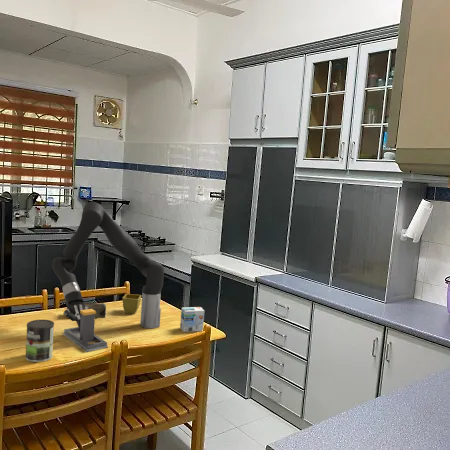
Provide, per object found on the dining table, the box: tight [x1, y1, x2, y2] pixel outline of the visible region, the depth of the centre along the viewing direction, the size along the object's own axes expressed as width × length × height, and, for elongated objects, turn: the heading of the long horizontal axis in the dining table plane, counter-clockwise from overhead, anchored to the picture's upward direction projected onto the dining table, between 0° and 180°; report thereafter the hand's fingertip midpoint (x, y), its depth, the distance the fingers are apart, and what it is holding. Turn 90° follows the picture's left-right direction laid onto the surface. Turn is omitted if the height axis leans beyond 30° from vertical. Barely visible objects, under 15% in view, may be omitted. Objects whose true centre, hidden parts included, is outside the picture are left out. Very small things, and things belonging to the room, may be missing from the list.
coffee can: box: [25, 319, 55, 363], centre depth 185 cm, size 10×10×14 cm
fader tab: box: [80, 309, 96, 341], centre depth 204 cm, size 4×5×13 cm
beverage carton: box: [70, 302, 107, 319], centre depth 240 cm, size 8×19×7 cm, turn 108°
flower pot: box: [122, 293, 142, 315], centre depth 252 cm, size 9×9×9 cm
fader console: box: [62, 326, 109, 353], centre depth 206 cm, size 24×10×2 cm, turn 42°
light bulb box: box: [179, 306, 205, 333], centre depth 232 cm, size 11×7×11 cm, turn 112°
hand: (82, 327), depth 205 cm, fingers closed
